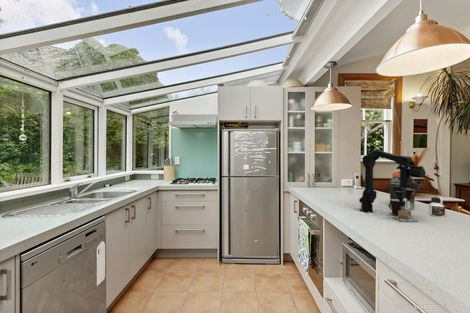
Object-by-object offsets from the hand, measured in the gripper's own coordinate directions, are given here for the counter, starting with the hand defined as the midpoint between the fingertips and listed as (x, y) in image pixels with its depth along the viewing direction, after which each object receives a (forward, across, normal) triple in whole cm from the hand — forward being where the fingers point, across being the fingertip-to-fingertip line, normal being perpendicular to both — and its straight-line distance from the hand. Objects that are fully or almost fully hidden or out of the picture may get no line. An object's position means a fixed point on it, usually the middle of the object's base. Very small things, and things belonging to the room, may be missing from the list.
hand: (404, 201), depth 164 cm
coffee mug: (+11, +9, +10) cm, 18 cm away
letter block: (+11, 0, 0) cm, 11 cm away
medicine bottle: (+12, +31, -5) cm, 34 cm away
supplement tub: (+11, +37, +19) cm, 43 cm away
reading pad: (+11, 0, 0) cm, 11 cm away
